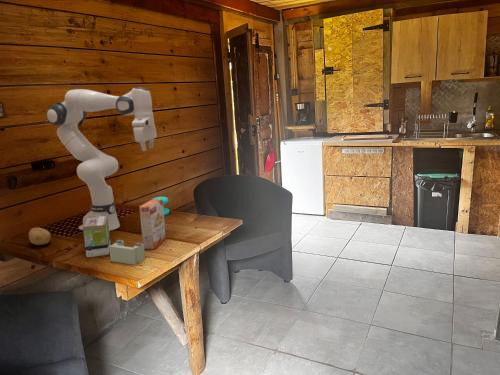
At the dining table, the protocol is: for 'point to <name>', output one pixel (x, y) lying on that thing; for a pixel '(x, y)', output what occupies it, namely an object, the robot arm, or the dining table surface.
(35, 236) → the potato
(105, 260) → the dining table surface
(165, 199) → the donuts
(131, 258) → the pale green block
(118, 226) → the robot arm
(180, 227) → the dining table surface
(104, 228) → the tea box
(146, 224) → the cracker box
